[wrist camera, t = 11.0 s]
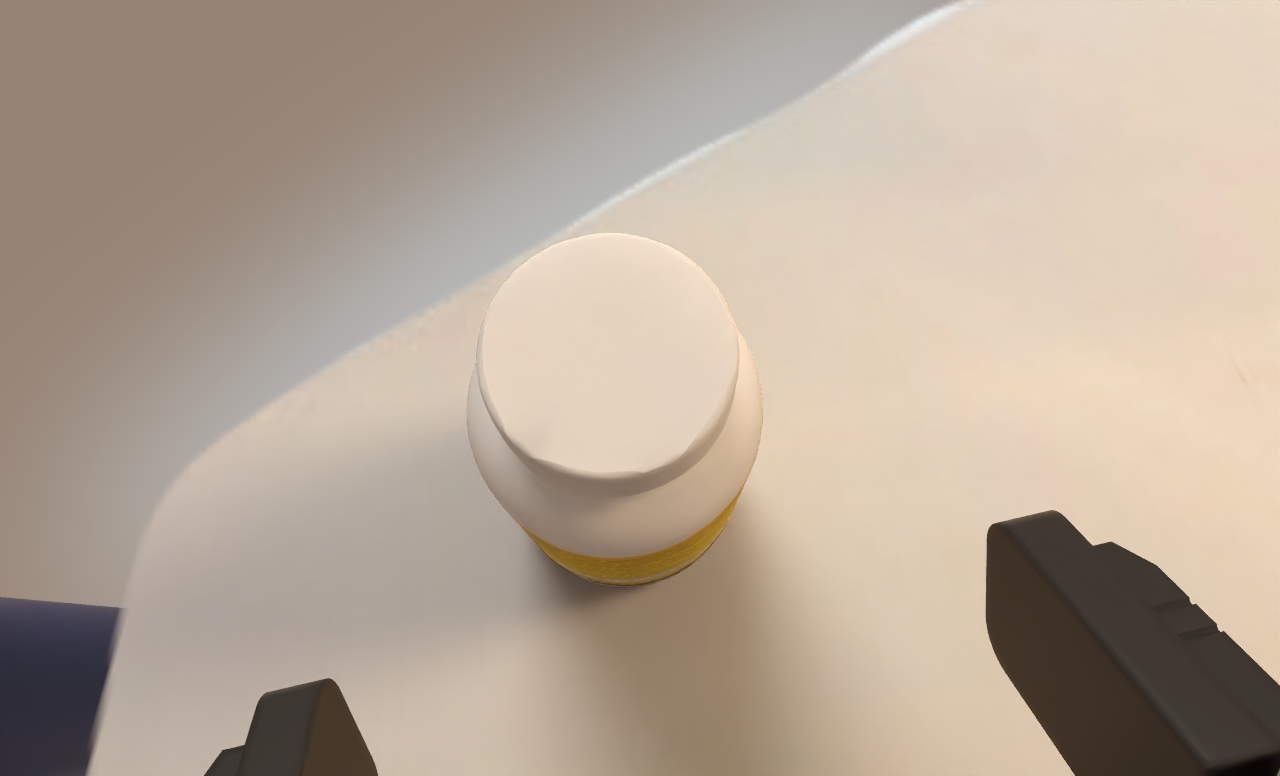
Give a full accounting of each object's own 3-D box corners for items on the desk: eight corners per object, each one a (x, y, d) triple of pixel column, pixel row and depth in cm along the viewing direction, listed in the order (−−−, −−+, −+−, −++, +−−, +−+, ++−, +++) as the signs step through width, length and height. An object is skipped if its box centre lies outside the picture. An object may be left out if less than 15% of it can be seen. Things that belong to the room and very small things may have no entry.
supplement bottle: (777, 505, 22) (863, 396, 13) (598, 633, 22) (551, 615, 12) (653, 338, 24) (649, 131, 14) (480, 453, 23) (357, 313, 14)
